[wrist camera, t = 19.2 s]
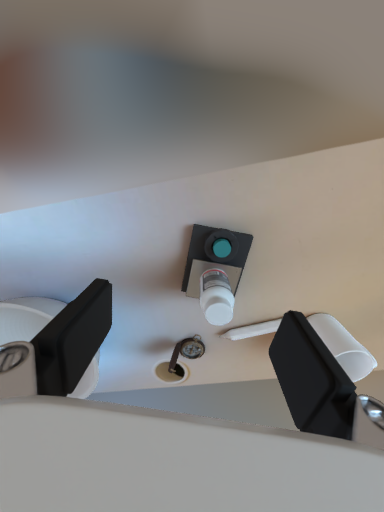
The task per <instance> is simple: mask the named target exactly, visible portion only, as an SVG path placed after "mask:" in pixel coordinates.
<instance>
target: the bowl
mask: <svg viewBox="0 0 384 512" xmlns="http://www.w3.org/2000/svg"><path fill="white" fill-rule="evenodd" d="M67 305H68V304H66V303H63V302H61V301H58V300H54V299H50V298H43V297H21V298H14V299H8V300H4V301H0V346H1V345H4V344H6V343H9V342H14V341H27V342H30V341H31V340H32V339H33V338H34V337H35V336H36V335H37V334H38V333H39V332H40V331H41V330H42V329H43V328H44V327H45V326H46V325H47V324H48V323H49V322H50V321H51V320H52V319H53V318H54V317H55V316H56V315H57V314H58V313H59V312H60V311H61V310H62V309H63V308H65V307H66V306H67ZM99 357H100V352H99V349H98V351H97V353H96V354H95V356H94V358H93V359H92V361H91V363H90V364H89V366H88V368H87V369H86V371H85V373H84V375H83V376H82V378H81V380H80V381H79V383H78V385H77V386H76V388H75V390H74V391H73V393H72V394H68V395H67V396H66V397H71V398H79V399H85V398H86V397H88V396H89V395H90V394H91V393H92V392H93V390H94V389H95V387H96V385H97V382H98V379H99V368H98V367H99Z"/></svg>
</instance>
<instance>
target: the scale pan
mask: <svg viewBox="0 0 384 512" xmlns="http://www.w3.org/2000/svg"><path fill="white" fill-rule="evenodd" d="M212 268H217V269H220V270H222V271H224V272H225V273H226V275H227V276H228V279H229V283H230V286H231V289H232V293H233V296H234V293H235V289H236V286H237V283H238V280H239V277H240V274H241V270H242V267H239V266H234V265H228V264H223V263H217V262H212V261H206V260H201V259H195V258H193V263H192V268H191V273H190V277H189V282H188V287H187V292H186V296H188V297H193V298H199V299H200V277H201V275H202V274H203V273H204V272H205V271H206V270H208V269H212Z"/></svg>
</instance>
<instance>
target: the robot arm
mask: <svg viewBox="0 0 384 512" xmlns="http://www.w3.org/2000/svg"><path fill="white" fill-rule="evenodd" d="M111 325H112V284H111V283H109V281H108V280H105V279H99V278H96V279H95V280H94V281H93V282H92V283H91V284H90V285H89V286H88V287H87V288H86V289H85V290H84V291H83V292H82V293H81V294H80V295H79V296H78V297H77V298H76V299H75V300H74V301H71V302H70V303H69V304H68V305H67V306H66V307H65V308H63V309H62V310H61V311H60V312H59V313H58V314H57V315H56V316H55V317H54V318H53V319H52V320H51V321H50V322H49V323H48V324H47V325H46V326H45V327H44V328H43V329H42V330H41V331H40V332H39V333H38V334H37V335H36V336H35V337H34V338H33V339H32V340H31V341H30V342H27V341H14V342H9V343H6V344H4V345H1V346H0V512H384V404H383V403H382V402H381V401H379V400H377V399H375V398H373V397H371V396H368V395H363V394H362V395H358V396H357V394H356V393H355V389H356V386H355V385H354V383H353V382H352V381H351V379H350V378H349V376H348V375H347V374H346V372H345V371H344V370H343V368H342V367H341V365H340V364H339V363H338V361H337V360H336V359H335V357H334V356H333V355H332V353H331V352H330V350H329V349H328V348H327V346H326V345H325V344H324V342H323V341H322V339H321V338H320V337H319V335H318V334H317V333H316V331H315V330H314V328H313V327H312V326H311V324H310V323H309V322H308V320H307V319H306V317H305V316H304V315H303V313H301V312H297V311H291V310H290V311H288V312H287V313H285V314H284V316H283V318H282V320H281V323H280V325H279V327H278V329H277V332H276V334H275V336H274V338H273V341H272V343H271V345H270V347H269V356H270V359H271V362H272V364H273V367H274V370H275V372H276V375H277V378H278V380H279V383H280V386H281V388H282V391H283V394H284V396H285V399H286V402H287V404H288V407H289V410H290V412H291V415H292V418H293V420H294V423H295V425H296V427H297V428H298V429H300V431H294V430H288V429H282V428H275V427H269V426H263V425H256V424H249V423H243V422H237V421H231V420H224V419H218V418H211V417H204V416H197V415H191V414H184V413H178V412H171V411H164V410H158V409H151V408H144V407H137V406H130V405H123V404H116V403H110V402H101V401H94V400H86V399H79V398H71V397H66V396H67V395H68V394H72V393H73V391H74V390H75V388H76V386H77V385H78V383H79V381H80V380H81V378H82V376H83V375H84V373H85V371H86V369H87V368H88V366H89V364H90V363H91V361H92V359H93V358H94V356H95V354H96V353H97V351H98V349H99V347H100V346H101V344H102V342H103V341H104V339H105V337H106V336H107V334H108V332H109V330H110V328H111Z"/></svg>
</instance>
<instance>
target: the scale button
mask: <svg viewBox="0 0 384 512" xmlns="http://www.w3.org/2000/svg"><path fill="white" fill-rule="evenodd" d="M213 251H214V253H215V255H216V256H218V257H226V256H228V255H229V254H230V252H231V246H230V244H229V242H228V241H227V240H226V239H218V240H216V241H215V242H214V244H213Z"/></svg>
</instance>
